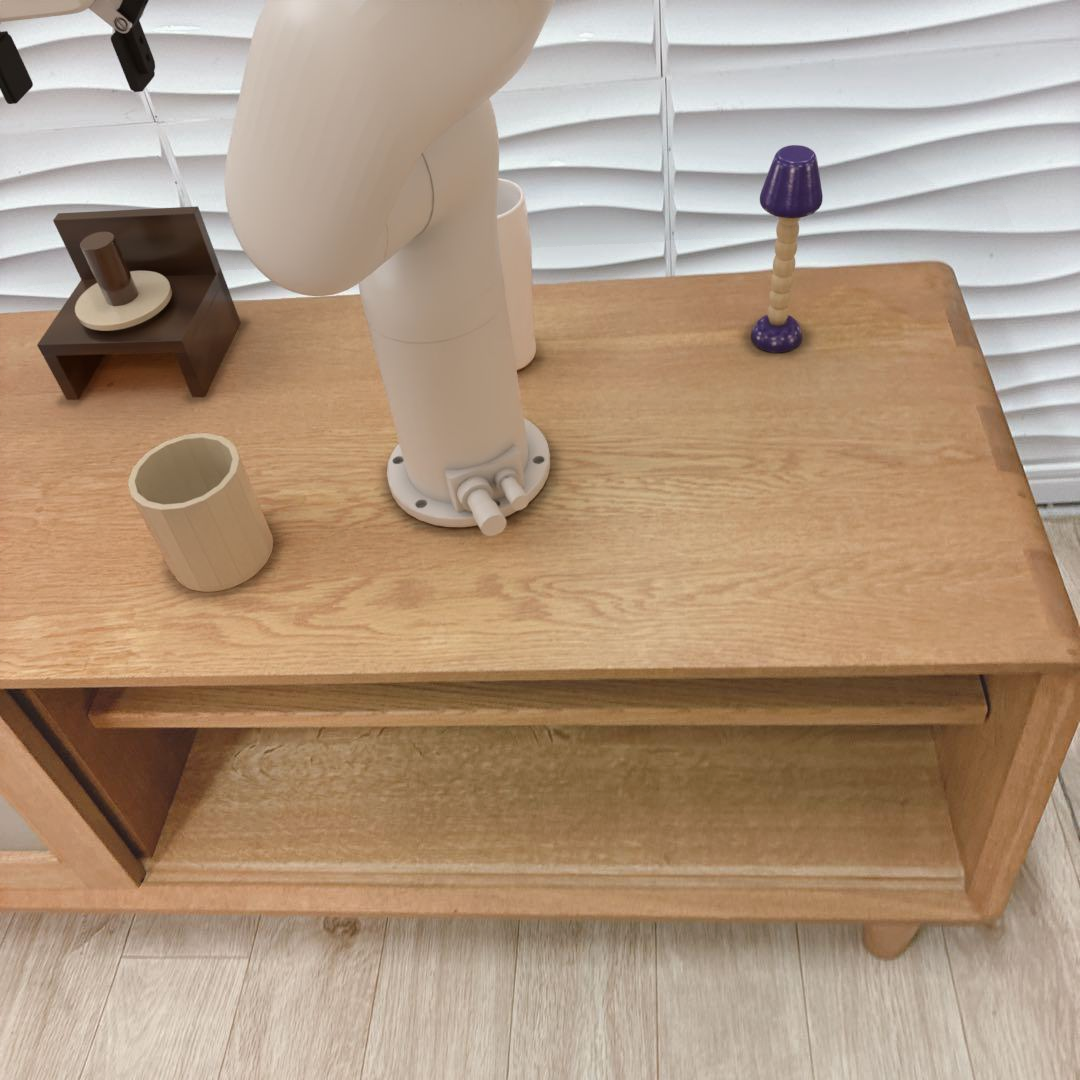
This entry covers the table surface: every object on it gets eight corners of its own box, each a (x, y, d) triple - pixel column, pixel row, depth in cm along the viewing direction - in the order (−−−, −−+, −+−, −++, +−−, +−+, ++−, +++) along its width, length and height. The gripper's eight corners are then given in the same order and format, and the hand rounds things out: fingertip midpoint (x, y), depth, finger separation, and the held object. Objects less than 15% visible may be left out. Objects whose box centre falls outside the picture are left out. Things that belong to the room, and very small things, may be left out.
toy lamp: (807, 322, 92) (824, 135, 80) (810, 355, 89) (829, 166, 77) (750, 323, 93) (758, 139, 81) (751, 357, 89) (760, 169, 77)
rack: (205, 396, 94) (155, 278, 85) (66, 400, 95) (3, 284, 87) (240, 322, 101) (198, 206, 92) (111, 326, 103) (58, 213, 94)
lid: (182, 317, 92) (153, 248, 87) (86, 348, 90) (51, 279, 85) (166, 272, 97) (138, 204, 92) (75, 300, 95) (42, 232, 91)
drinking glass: (536, 383, 90) (514, 222, 79) (459, 380, 91) (427, 221, 81) (552, 335, 94) (533, 176, 84) (478, 332, 96) (450, 176, 85)
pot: (284, 568, 78) (249, 483, 72) (181, 606, 77) (137, 523, 71) (260, 504, 83) (226, 420, 77) (164, 539, 82) (121, 456, 76)
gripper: (-196, -152, 65) (-50, 123, 77) (68, -189, 62) (177, 102, 74) (-132, -184, 70) (-4, 79, 82) (115, -219, 67) (209, 57, 79)
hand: (82, 89), depth 78 cm, fingers open, 9 cm apart
